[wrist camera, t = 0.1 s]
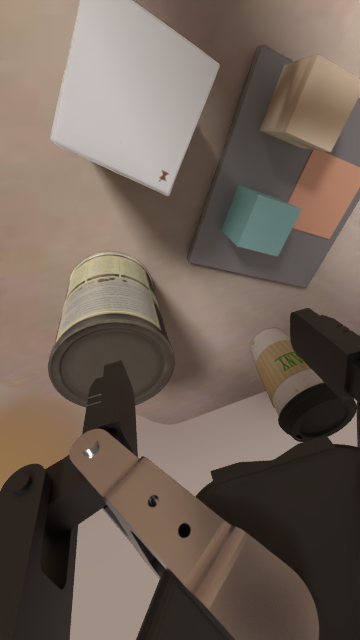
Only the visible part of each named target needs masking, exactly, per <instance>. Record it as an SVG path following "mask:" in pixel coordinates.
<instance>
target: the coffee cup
mask: <svg viewBox="0 0 360 640" xmlns="http://www.w3.org/2000/svg"><path fill="white" fill-rule="evenodd" d="M250 352H251V354H252V356H253V358H254V361H255V363H256V367H257V370H258V372H259V375H260V377H261V379H262V382H263V384H264V386H265V389H266V391H267V393H268V395H269V398H270V400H271V402H272V405H273V407H274V408H275V409H276V411H277V413H278V415H279V419H278V421H279V425H280V427H281V428H282V429H283V430H284V431H285V432H286V433H287V434H289V435H291V436H292V437H293V438H294V439H295V440H297V441H299V442H306V441H309V440H313V439H316V438H319V437H322V436H327V437H328V436H330V435H332V434H334V433H335V432H337V431H339V430H340V429H342V428H343V427H344V426H346V425H347V424H348V423H349V422H350V421H351V419H352V418H353V417H354V415H355V413H356V410H357V405H356V403H355V401H354V398H352V399H349V400H345V401H342V400H341V399H340V398H339V397H338V396H337V395H336V394H335V393H334V392H333V391H332V390H331V389H330V388H329V387H328V386H327V385H326V384H325V383H324V382H323V380H322V379H321V378H320V377H319V376H318V375H317V374H316V373H315V372H314V371H313V370H312V369H311V368H310V367H309V366H308V365H307V364H306V363H305V362H304V361H303V360H302V359H301V358H300V357H299V356H298V355H297V354H296V353H295V351H294V350H293V348H292V345H291V338H290V337H289V336H287V335H286V334H285V333H284V332H283V331H282V330H280V329H277V328H271V329H267V330H264V331H262V332H260V333H259V334H258V335H257V336H255V338H254V339H253V340H252V342H251V344H250Z"/></svg>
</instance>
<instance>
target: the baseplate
mask: <svg viewBox="0 0 360 640" xmlns="http://www.w3.org/2000/svg"><path fill="white" fill-rule="evenodd" d="M292 62H294V61H292V60H290V59H288V58H286V57H285V56H283V55H281V54H279V53H277V52H276V51H274V50H272V49H270V48H268V47H267V46H265V45H261V46H259V47H258V48H257V51H256V54H255V57H254V60H253V63H252V66H251V69H250V72H249V75H248V78H247V81H246V84H245V87H244V90H243V93H242V96H241V99H240V102H239V105H238V108H237V111H236V114H235V117H234V120H233V123H232V126H231V129H230V132H229V135H228V138H227V141H226V144H225V147H224V150H223V153H222V156H221V159H220V162H219V165H218V168H217V171H216V174H215V177H214V180H213V183H212V186H211V189H210V192H209V195H208V198H207V201H206V204H205V207H204V210H203V213H202V216H201V219H200V222H199V225H198V228H197V231H196V234H195V237H194V240H193V243H192V246H191V249H190V252H189V255H188V258H187V260H188V262H190V263H194V264H199V265H204V266H208V267H213V268H217V269H222V270H226V271H231V272H236V273H240V274H245V275H249V276H254V277H258V278H263V279H268V280H272V281H277V282H281V283H286V284H290V285H295V286H299V287H304V288H306V287H307V286H308V284H309V282H310V281H311V279H312V277H313V276H314V274H315V272H316V271H317V269H318V267H319V266H320V264H321V262H322V261H323V259H324V257H325V256H326V254H327V252H328V251H329V249H330V247H331V246H332V244H333V242H334V241H335V239H336V237H337V236H338V234H339V232H340V231H341V229H342V227H343V226H344V224H345V222H346V221H347V219H348V217H349V216H350V214H351V212H352V211H353V209H354V207H355V206H356V204H357V202H358V201H359V199H360V98H358V100H357V102H356V104H355V106H354V108H353V109H352V111H351V113H350V115H349V117H348V119H347V121H346V123H345V125H344V127H343V129H342V131H341V133H340V135H339V137H338V139H337V141H336V143H335V145H334V147H333V149H332V151H331V152H326V151H318V150H311V149H304V148H299V147H297V146H294V145H292V144H290V143H287V142H285V141H283V140H280V139H278V138H276V137H273V136H271V135H269V134H266V133H264V132H262V131H259V130H260V127H261V125H262V122H263V119H264V117H265V114H266V111H267V109H268V106H269V104H270V101H271V98H272V96H273V93H274V90H275V88H276V85H277V82H278V80H279V77H280V75H281V72H282V69H283V67H284V65H286V64H289V63H292ZM238 185H240V186H243V187H246V188H249V189H252V190H255V191H258V192H261V193H264V194H267V195H270V196H273V197H276V198H278V199H280V200H283V201H285V202H287V203H289V204H291V205H294V206H296V207H298V208H300V209H302V210H301V212H300V214H299V216H298V218H297V220H296V222H295V224H294V226H293V228H292V230H291V232H290V233H289V235H288V237H287V239H286V241H285V243H284V245H283V247H282V249H281V251H280V253H279V255H278V257H277V256H273V255H269V254H266V253H262V252H258V251H254V250H250V249H246V248H242V247H238V246H236V245H235V244H234V243H233V242H232V241H231V240H230V239H229V238H228V237H227V236H226V235H225V234H224V233H223V232H222V231H221V230H222V227H223V225H224V222H225V219H226V217H227V214H228V211H229V209H230V206H231V204H232V201H233V198H234V196H235V193H236V190H237V188H238Z"/></svg>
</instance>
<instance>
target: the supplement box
mask: <svg viewBox="0 0 360 640" xmlns="http://www.w3.org/2000/svg"><path fill="white" fill-rule="evenodd" d="M219 67H220V65H219V63H217V62H216V61H215V60H214V59H212V58H211V57H210V56H209V55H207V54H206V53H205V52H203V51H202V50H201V49H199V48H198V47H197V46H195V45H194V44H193V43H191V42H190V41H188V40H187V39H186V38H184V37H183V36H181V35H180V34H179V33H177V32H176V31H175V30H173V29H172V28H170V27H169V26H168V25H166V24H165V23H164V22H162V21H161V20H159V19H158V18H157V17H155V16H154V15H152V14H151V13H150V12H148V11H147V10H146V9H144V8H143V7H141V6H140V5H139V4H137V3H136V2H134V1H133V0H80V2H79V7H78V12H77V17H76V21H75V26H74V31H73V35H72V40H71V44H70V49H69V54H68V58H67V63H66V67H65V72H64V76H63V81H62V85H61V90H60V94H59V99H58V103H57V108H56V113H55V118H54V122H53V127H52V131H51V136H50V140H51V142H52V143H54V144H55V145H57V146H59V147H61V148H63V149H66V150H68V151H70V152H72V153H74V154H77V155H79V156H81V157H83V158H85V159H87V160H90V161H92V162H94V163H96V164H98V165H100V166H103V167H105V168H107V169H109V170H111V171H113V172H115V173H117V174H119V175H122V176H124V177H127V178H129V179H131V180H133V181H135V182H138V183H140V184H142V185H144V186H146V187H148V188H151V189H153V190H155V191H157V192H159V193H161V194H163V195H165V196H170V194H171V191H172V188H173V186H174V183H175V181H176V178H177V175H178V173H179V170H180V167H181V165H182V162H183V160H184V157H185V154H186V152H187V149H188V147H189V144H190V141H191V139H192V136H193V133H194V131H195V128H196V126H197V123H198V121H199V118H200V115H201V113H202V110H203V108H204V105H205V103H206V100H207V98H208V96H209V93H210V90H211V88H212V85H213V83H214V80H215V78H216V75H217V73H218V70H219Z"/></svg>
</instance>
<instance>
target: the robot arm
mask: <svg viewBox="0 0 360 640" xmlns="http://www.w3.org/2000/svg"><path fill="white" fill-rule="evenodd" d="M290 336H291V345H292V348H293V350H294V351H295V353H296V354H297V355H298V356H299V357H300V358H301V359H302V360H303V361H304V362H305V363H306V364H307V365H308V366H309V367H310V368H311V369H312V370H313V371H314V372H315V373H316V374H317V375H318V376H319V377H320V378H321V379H322V380H323V382H324V383H325V384H326V385H327V386H328V387H329V388H330V389H331V390H332V391H333V392H334V393H335V394H336V395H337V396H338V397H339V398H340V399H341V400H342V401H345V400H349V399H352V398H355V399H356V400H357V436H358V437H357V439H358V447H354V446H349V445H339V444H332V442H331V441H330V440H329V438H328V437H327V436H322V437H319V438H316V439H313V440H309V441H306V442H303V443H300V444H298V445H296V446H294V447H293V448H291V449H290V450H289V451H287V452H285V453H284V454H282V455H281V456H279V457H278V458H276V459H274V460H271V461H255V462H239V463H235V464H232V465H229V466H226V467H223V468H219V469H216V470H213V471H211V475H212V479H213V481H212V482H211V483H209V484H208V485H207V486H205V487H204V488H203V489H202V490H201V491H200V492H199V493H198V494H197V495H196V497H195V496H193V495H192V494H191V493H190V492H189V491H187V490H186V489H185V488H184V487H182V486H181V485H180V484H179V483H178V482H176V481H175V480H174V479H173V478H171V477H170V476H169V475H168V474H166V473H165V472H164V471H163V470H162V469H160V468H159V467H158V466H157V465H155V464H154V463H153V462H152V461H150V460H149V459H148V458H146V457H141V458H140V459H139V458H138V453H137V433H136V413H135V397H134V392H133V388H132V385H131V382H130V380H129V377H128V375H127V372H126V370H125V367H124V365H123V362H122V361H121V360H119V361H116V362H112V363H109V364H105V365H104V372H103V377H100V378H97V379H95V380H94V382H93V384H92V385H91V387H90V389H89V395H88V401H87V408H86V414H85V421H84V427H83V433H82V435H81V436H80V437H79V438H78V439H77V440H76V441H75V442H74V444H73V445H72V447H71V450H70V454H69V455H68V456H67V457H65V458H64V459H62V460H60V461H59V462H57V463H55V464H53V465H52V466H50V467H48V468H47V469H44V468H43V466H41V465H39V464H30V465H27V466H24V467H22V468H21V469H19V470H18V471H16V472H15V473H14V474H13V475H11V477H9V479H8V480H7V481H6V482H5V484H4V485H3V487H2V489H1V491H0V640H69V639H70V625H71V612H72V598H73V585H74V572H75V559H76V545H77V531H78V524H79V523H81V522H82V521H84V520H85V519H87V518H88V517H90V516H91V515H93V514H94V513H96V512H97V511H99V510H100V509H101V508H102V509H103V510H104V511H105V512H106V514H107V515H108V516H109V517H110V518H111V520H112V521H113V522H114V523H115V524H116V526H117V527H118V528H119V529H120V530H121V532H122V533H123V534H124V535H125V536H126V537H127V539H128V540H129V541H130V542H131V544H133V546H134V547H135V549H136V550H137V551H138V553H139V554H140V556H141V557H142V558H143V560H144V561H145V562H146V563H147V565H148V566H149V567H150V568H151V569H152V571H153V572H154V573H155V574H156V575H157V577H158V578H159V579H160V580H159V583H158V585H157V588H156V590H155V593H154V595H153V598H152V601H151V603H150V605H149V609H148V611H147V613H146V616H145V618H144V621H143V623H142V626H141V628H140V631H139V634H138V636H137V639H136V640H360V336H358V335H357V334H355V333H354V332H353V331H350V329H348V328H347V327H345V326H343V325H342V324H341V323H339V322H338V321H336V320H335V319H333V318H330V317H327V316H324V315H321V316H319V315H318V314H317V313H315V312H314V311H312V310H311V309H309V308H306V309H302V310H299V311H295V312H292V313H291V315H290Z"/></svg>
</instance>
